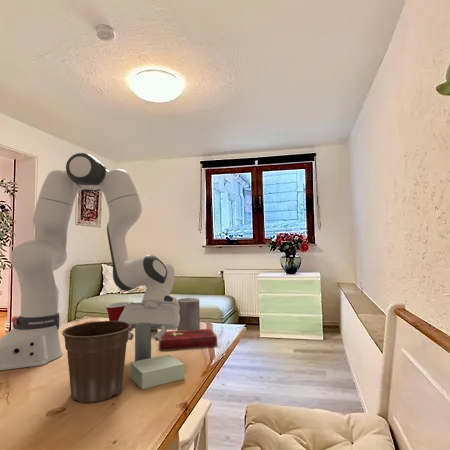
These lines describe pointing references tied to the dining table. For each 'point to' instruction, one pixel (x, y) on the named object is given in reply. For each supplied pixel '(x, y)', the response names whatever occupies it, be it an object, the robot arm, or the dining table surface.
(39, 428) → the dining table surface
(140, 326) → the slate jar
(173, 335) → the hardcover book
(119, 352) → the plant pot
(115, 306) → the plastic cup
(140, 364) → the block
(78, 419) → the dining table surface
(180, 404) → the dining table surface
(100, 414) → the dining table surface
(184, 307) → the pillar candle
